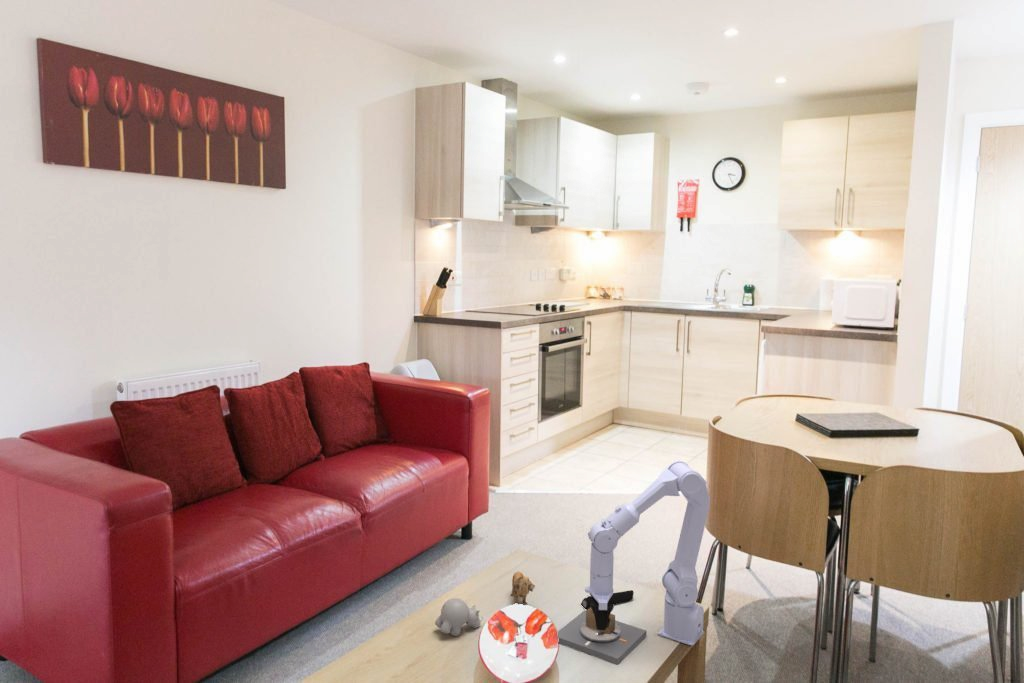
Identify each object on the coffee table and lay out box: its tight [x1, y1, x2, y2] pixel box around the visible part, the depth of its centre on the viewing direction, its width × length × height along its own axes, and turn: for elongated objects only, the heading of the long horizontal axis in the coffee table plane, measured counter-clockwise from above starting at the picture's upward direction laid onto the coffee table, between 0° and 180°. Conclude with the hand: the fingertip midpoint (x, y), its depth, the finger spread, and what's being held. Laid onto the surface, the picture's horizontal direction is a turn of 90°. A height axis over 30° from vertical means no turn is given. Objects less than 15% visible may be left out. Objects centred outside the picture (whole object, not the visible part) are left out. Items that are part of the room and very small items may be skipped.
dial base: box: [557, 609, 648, 665], centre depth 183 cm, size 18×16×2 cm
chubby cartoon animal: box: [434, 597, 484, 637], centre depth 186 cm, size 7×12×8 cm, turn 114°
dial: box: [580, 607, 620, 642], centre depth 182 cm, size 10×10×5 cm
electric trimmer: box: [580, 590, 634, 610], centre depth 202 cm, size 4×16×3 cm, turn 110°
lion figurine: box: [510, 571, 536, 605], centre depth 203 cm, size 15×5×9 cm, turn 16°
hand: (600, 623), depth 183 cm, fingers closed on dial, 5 cm apart
